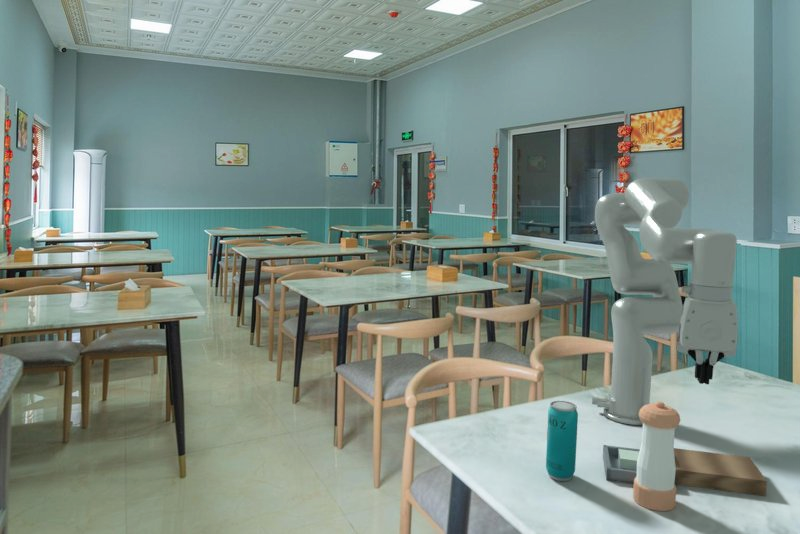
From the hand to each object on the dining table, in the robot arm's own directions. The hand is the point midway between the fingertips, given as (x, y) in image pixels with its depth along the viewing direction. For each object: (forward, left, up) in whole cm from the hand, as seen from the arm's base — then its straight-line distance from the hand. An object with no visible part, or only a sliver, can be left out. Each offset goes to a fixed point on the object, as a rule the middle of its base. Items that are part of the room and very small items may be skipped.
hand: (702, 381), depth 118 cm
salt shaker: (-10, -15, -20) cm, 27 cm away
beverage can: (-27, -10, -20) cm, 35 cm away
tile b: (-13, -1, -17) cm, 21 cm away
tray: (-12, -3, -19) cm, 23 cm away
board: (+3, -1, -19) cm, 20 cm away
